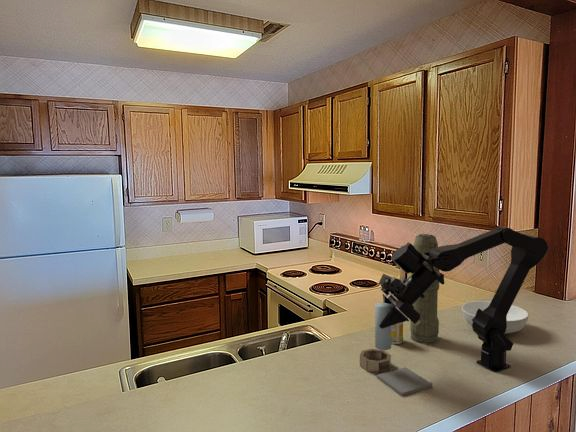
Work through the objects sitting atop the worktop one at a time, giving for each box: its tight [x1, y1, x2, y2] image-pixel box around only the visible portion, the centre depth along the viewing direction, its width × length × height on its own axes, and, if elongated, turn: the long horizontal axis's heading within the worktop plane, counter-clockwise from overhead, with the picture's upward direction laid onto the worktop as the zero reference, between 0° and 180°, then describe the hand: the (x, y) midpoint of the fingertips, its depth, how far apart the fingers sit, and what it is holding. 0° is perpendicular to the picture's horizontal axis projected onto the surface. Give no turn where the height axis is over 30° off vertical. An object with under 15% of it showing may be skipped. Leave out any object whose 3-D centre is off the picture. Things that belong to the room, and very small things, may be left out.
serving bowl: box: [461, 300, 529, 334], centre depth 139 cm, size 21×21×7 cm
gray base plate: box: [376, 366, 433, 397], centre depth 104 cm, size 10×10×1 cm
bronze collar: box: [359, 348, 392, 374], centre depth 114 cm, size 8×8×3 cm
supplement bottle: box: [391, 322, 404, 345], centre depth 130 cm, size 5×5×10 cm
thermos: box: [409, 233, 440, 345], centre depth 130 cm, size 9×12×35 cm
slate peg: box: [374, 302, 392, 351], centre depth 110 cm, size 4×4×12 cm
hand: (378, 324), depth 110 cm, fingers closed on slate peg, 4 cm apart
